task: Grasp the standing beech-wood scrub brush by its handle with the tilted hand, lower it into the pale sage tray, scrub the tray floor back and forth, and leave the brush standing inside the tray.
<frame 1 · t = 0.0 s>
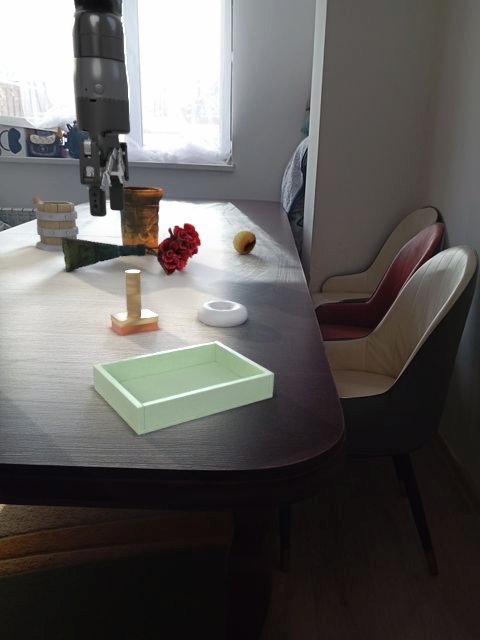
hand: (108, 213, 79), 22 cm above the table, tool pointing down, fingers open, 8 cm apart
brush: (134, 330, 94), on the table
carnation: (133, 272, 138), on the table
tankard: (54, 246, 167), on the table
fruit: (243, 255, 170), on the table
tray: (183, 394, 70), on the table
vessel: (141, 253, 163), on the table
donut: (222, 322, 102), on the table
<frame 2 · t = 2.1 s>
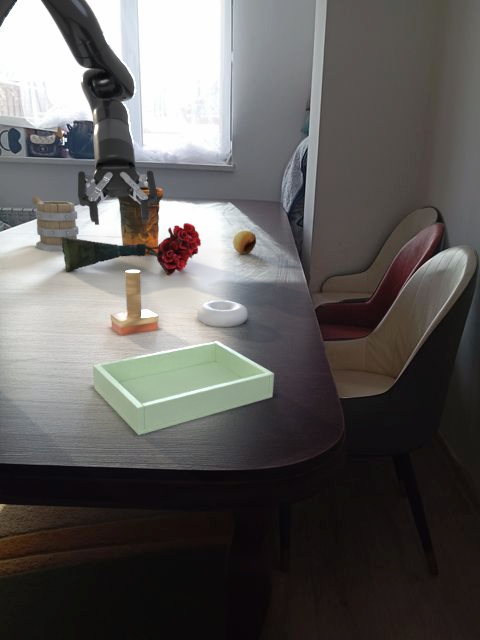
hand: (120, 221, 95), 18 cm above the table, tool tilted 40°, fingers open, 8 cm apart
nothing on the table moved.
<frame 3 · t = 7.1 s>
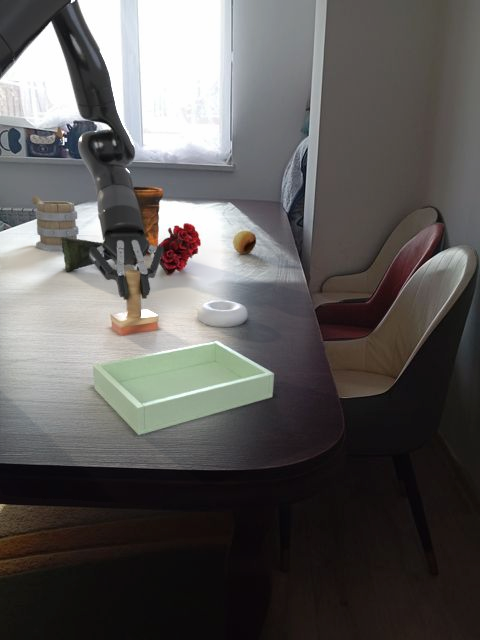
hand: (135, 296, 90), 7 cm above the table, tool tilted 45°, fingers closed on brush, 2 cm apart
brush: (134, 330, 94), on the table, touching gripper
everything else where it was.
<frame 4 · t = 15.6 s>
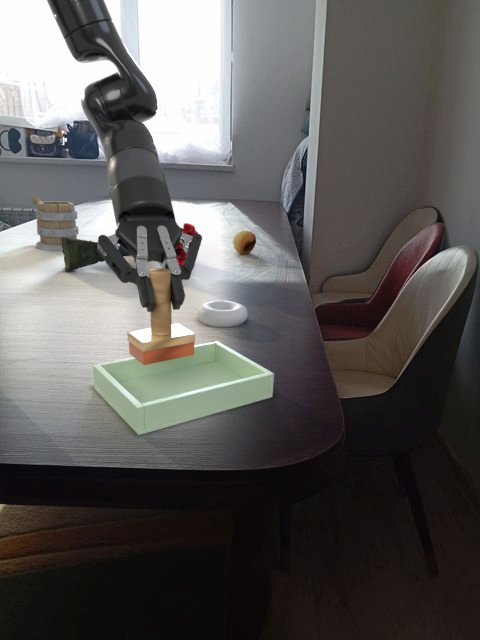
hand: (164, 307, 62), 13 cm above the table, tool tilted 45°, fingers closed on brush, 2 cm apart
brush: (161, 354, 66), point 7 cm above the table, touching gripper
everything else where it was.
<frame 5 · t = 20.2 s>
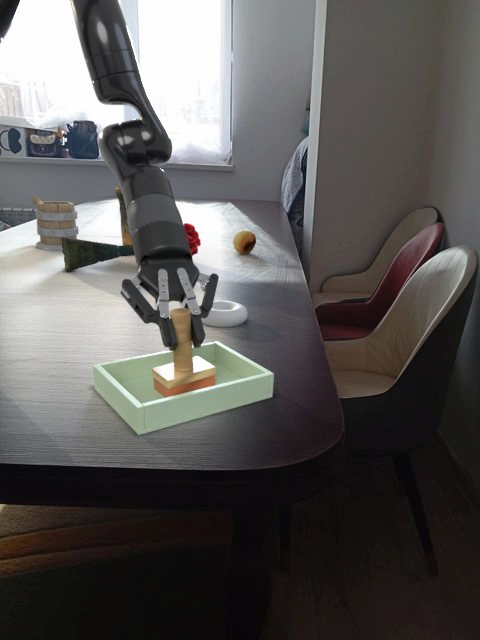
hand: (186, 346, 66), 8 cm above the table, tool tilted 45°, fingers closed on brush, 2 cm apart
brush: (184, 387, 70), point 1 cm above the table, touching gripper
everything else where it was.
when the fingers open (8 cm above the table, at t = 24.6 s): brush stays where it is, resting on tray.
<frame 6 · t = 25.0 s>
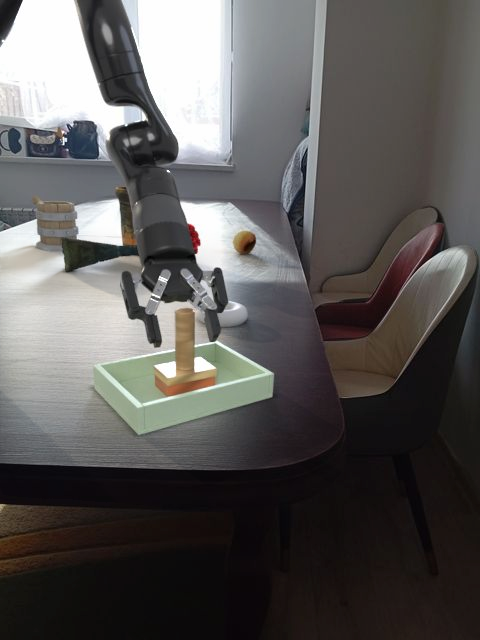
hand: (187, 342, 66), 8 cm above the table, tool tilted 45°, fingers open, 7 cm apart
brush: (185, 386, 71), point 1 cm above the table, touching tray
everything else where it was.
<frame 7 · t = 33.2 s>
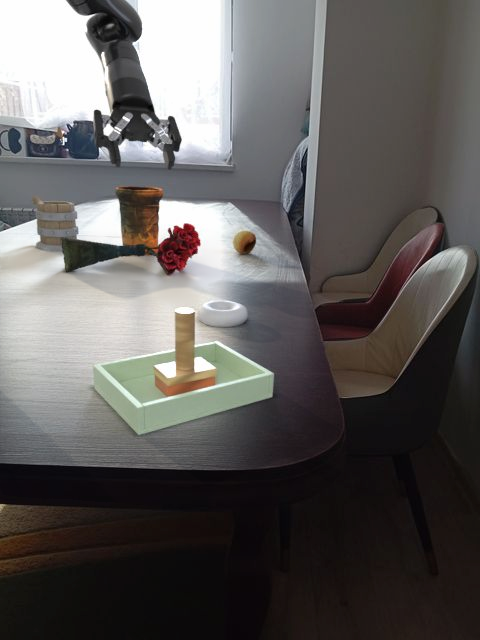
hand: (144, 165, 85), 29 cm above the table, tool tilted 45°, fingers open, 8 cm apart
nothing on the table moved.
at the end: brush inside the target area in the tray (0.8 cm from its centre), point 0.8 cm above the tray's base; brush tilted 0°; the gripper is holding nothing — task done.
